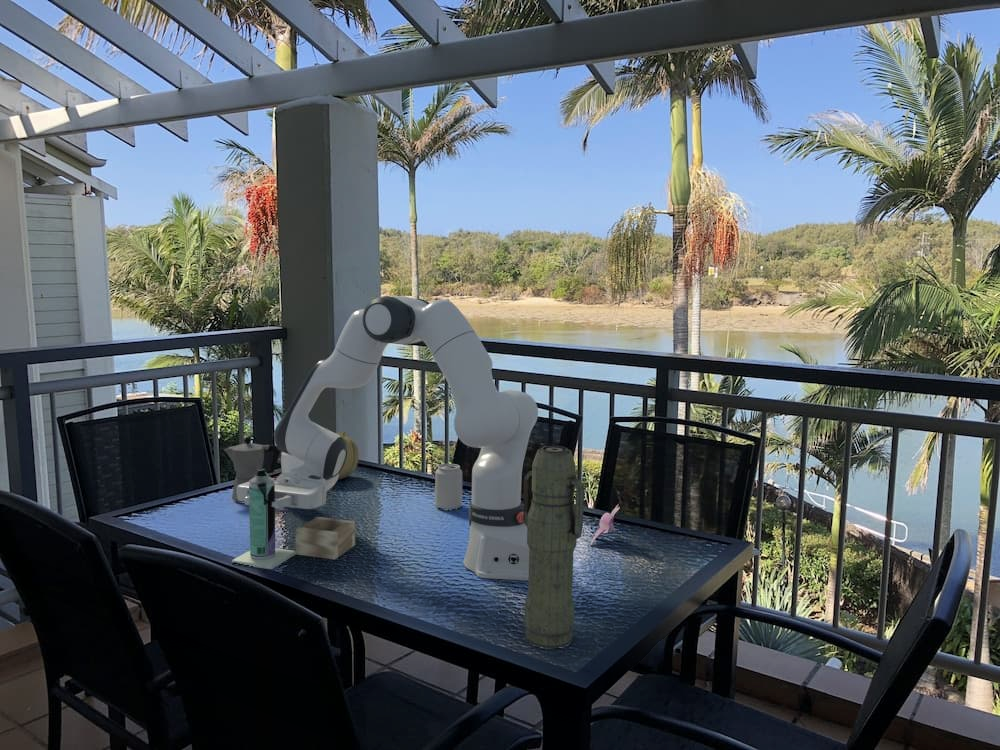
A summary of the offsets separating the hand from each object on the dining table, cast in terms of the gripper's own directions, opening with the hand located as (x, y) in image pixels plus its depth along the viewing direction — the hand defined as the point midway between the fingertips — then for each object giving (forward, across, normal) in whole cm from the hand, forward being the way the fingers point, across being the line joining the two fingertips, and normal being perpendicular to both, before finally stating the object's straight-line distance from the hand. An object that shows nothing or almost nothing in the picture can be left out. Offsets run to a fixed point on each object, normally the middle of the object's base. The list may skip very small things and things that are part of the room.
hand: (260, 503), depth 176 cm
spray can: (-1, 0, +13) cm, 13 cm away
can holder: (-11, +10, +13) cm, 20 cm away
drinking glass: (-40, -16, +13) cm, 45 cm away
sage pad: (-1, 0, +13) cm, 13 cm away
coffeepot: (-41, -30, +13) cm, 52 cm away
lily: (-40, +72, +13) cm, 83 cm away
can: (-53, +25, +13) cm, 60 cm away
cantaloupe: (-69, -19, +13) cm, 73 cm away
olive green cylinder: (+16, +70, +13) cm, 73 cm away
